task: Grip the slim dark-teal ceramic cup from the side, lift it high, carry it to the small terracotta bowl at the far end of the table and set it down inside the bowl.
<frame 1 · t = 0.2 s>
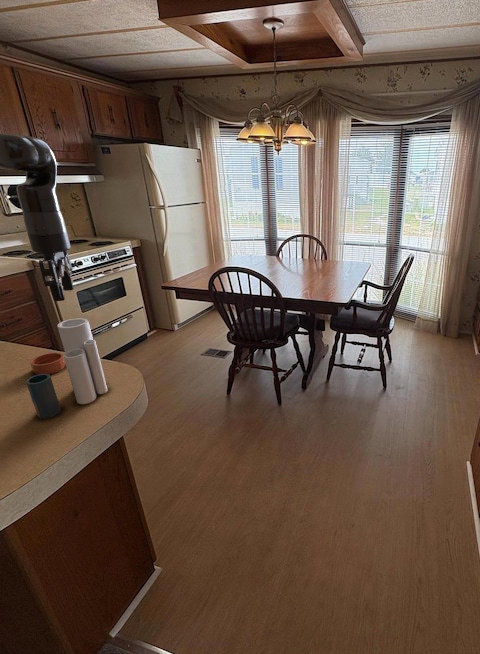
hand: (64, 295, 87), 27 cm above the table, tool pointing down, fingers open, 8 cm apart
cup: (49, 412, 86), on the table
vase: (92, 392, 95), on the table
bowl: (50, 368, 105), on the table
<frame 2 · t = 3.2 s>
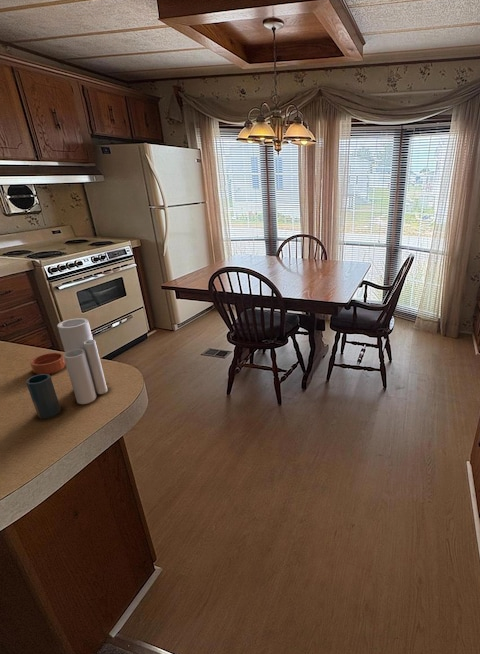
nothing on the table moved.
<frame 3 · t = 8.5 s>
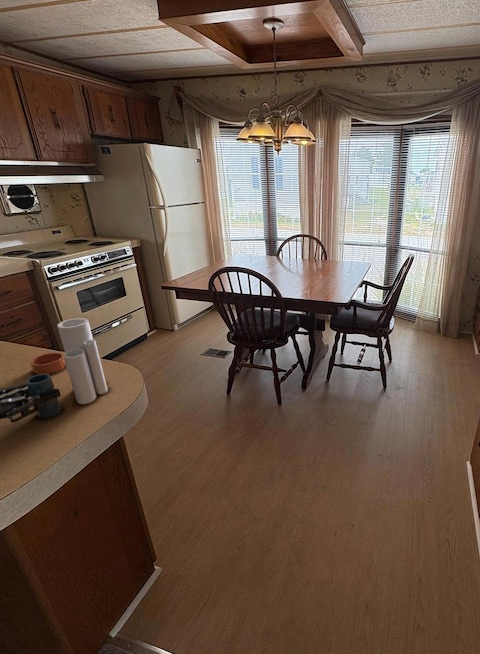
hand: (55, 388, 86), 6 cm above the table, tool horizontal, fingers closed on cup, 4 cm apart
cup: (49, 412, 86), on the table, touching gripper
everything else where it was.
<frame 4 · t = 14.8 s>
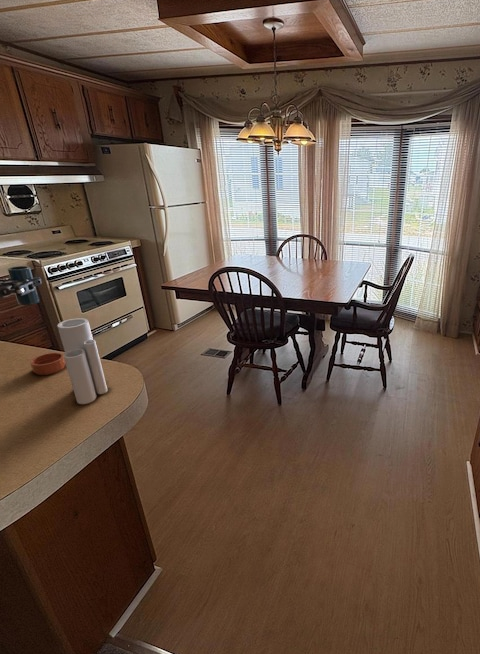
hand: (31, 279, 97), 28 cm above the table, tool horizontal, fingers closed on cup, 4 cm apart
cup: (29, 302, 97), point 22 cm above the table, touching gripper
everything else where it was.
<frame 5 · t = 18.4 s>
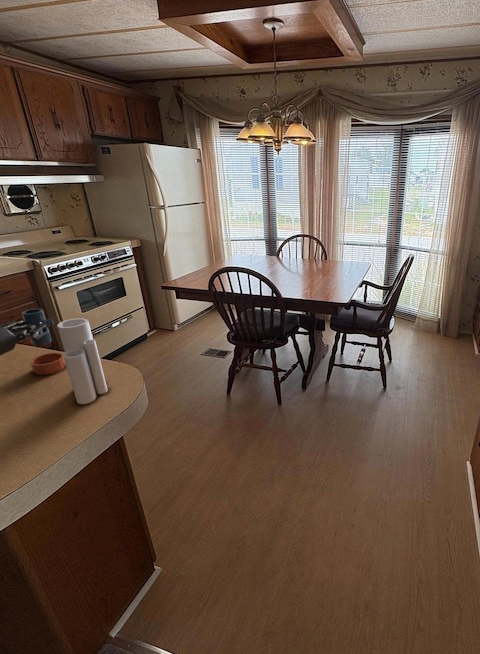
hand: (44, 320, 102), 15 cm above the table, tool horizontal, fingers closed on cup, 4 cm apart
cup: (42, 342, 102), point 9 cm above the table, touching gripper
everything else where it was.
when the fingers open (7 cm above the table, at t = 21.1 s): cup stays where it is, resting on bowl.
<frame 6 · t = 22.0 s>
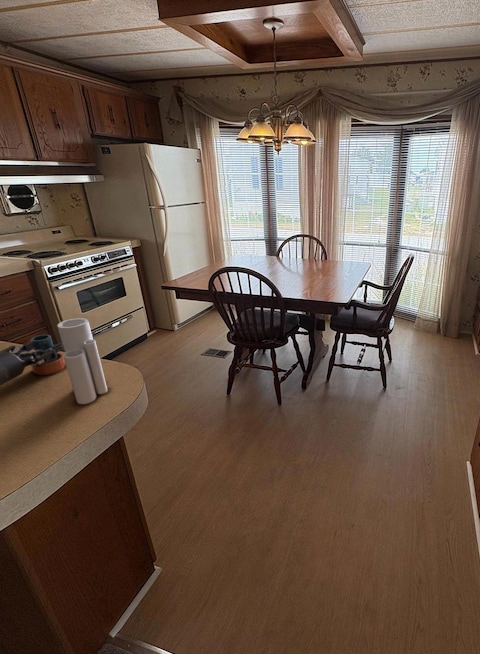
hand: (48, 344, 104), 7 cm above the table, tool horizontal, fingers open, 8 cm apart
cup: (49, 367, 105), point 1 cm above the table, touching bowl
everything else where it was.
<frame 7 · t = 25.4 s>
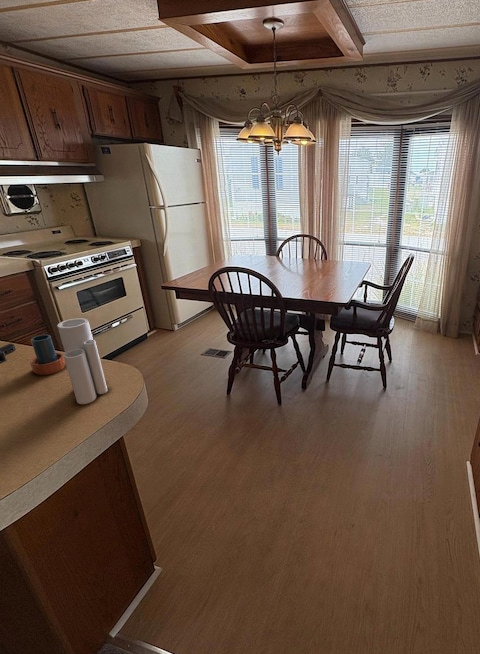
nothing on the table moved.
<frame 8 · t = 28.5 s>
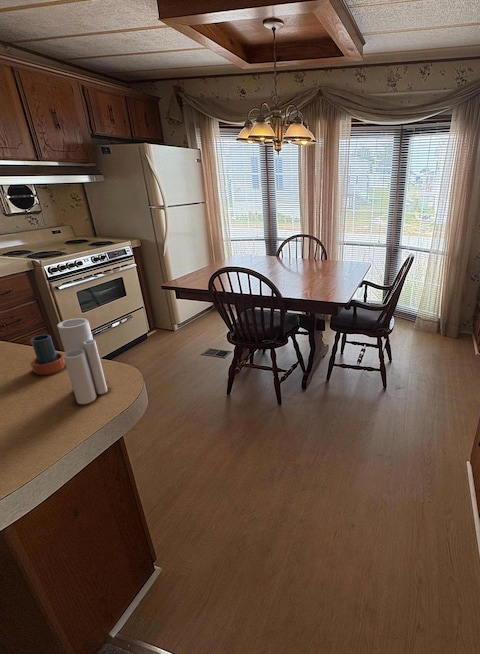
nothing on the table moved.
at the end: cup 0.1 cm off-centre in the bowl, point 0.6 cm above the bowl's base; cup tilted 0° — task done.
